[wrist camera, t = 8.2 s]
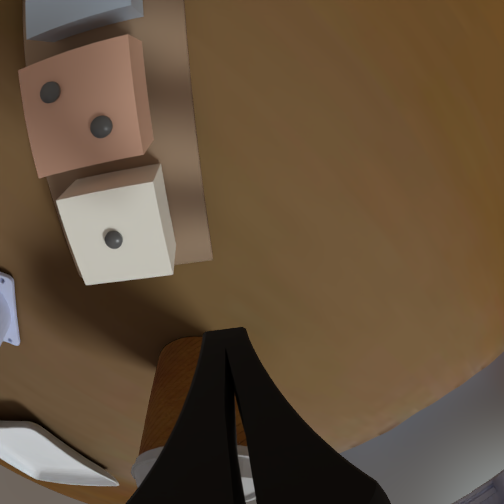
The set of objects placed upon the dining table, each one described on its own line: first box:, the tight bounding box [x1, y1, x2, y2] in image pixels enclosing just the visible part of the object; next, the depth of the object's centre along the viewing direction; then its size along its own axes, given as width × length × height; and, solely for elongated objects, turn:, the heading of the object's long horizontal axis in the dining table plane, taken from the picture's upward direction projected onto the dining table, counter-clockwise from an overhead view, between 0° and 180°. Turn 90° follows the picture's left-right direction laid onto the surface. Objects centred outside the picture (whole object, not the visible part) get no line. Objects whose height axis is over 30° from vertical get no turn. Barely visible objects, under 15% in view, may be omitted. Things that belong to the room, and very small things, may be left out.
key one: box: [56, 163, 176, 285], centre depth 16 cm, size 5×5×3 cm
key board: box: [23, 0, 213, 277], centre depth 13 cm, size 21×9×3 cm, turn 4°
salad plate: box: [0, 421, 119, 486], centre depth 33 cm, size 21×21×3 cm
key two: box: [18, 34, 154, 178], centre depth 11 cm, size 5×5×3 cm
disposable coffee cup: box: [131, 337, 256, 502], centre depth 21 cm, size 10×10×12 cm
